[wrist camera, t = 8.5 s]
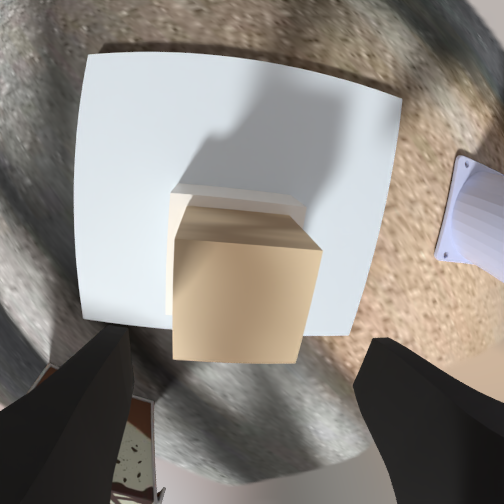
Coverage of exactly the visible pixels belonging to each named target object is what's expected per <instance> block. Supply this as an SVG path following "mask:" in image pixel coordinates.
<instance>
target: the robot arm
mask: <svg viewBox="0 0 504 504" xmlns="http://www.w3.org/2000/svg"><path fill="white" fill-rule="evenodd" d="M465 162H466V165H465ZM444 253H445V255H444ZM434 256H435V258H436V259H437V260H439V261H448V262H458V263H467V264H475V265H477V266H478V267H480V268H481V269H483V270H485V271H486V272H488V273H489V274H491V275H492V276H494V277H495V278H497V279H498V280H500V281H501V282H503V283H504V174H502V173H500V172H498V171H496V170H494V169H491V168H489V167H487V166H485V165H483V164H481V163H479V162H477V161H474V160H472V159H470V158H468V157H465V156H462V155H458V156H457V157H456V161H455V167H454V172H453V178H452V183H451V188H450V193H449V198H448V202H447V207H446V211H445V215H444V219H443V223H442V227H441V231H440V235H439V239H438V242H437V246H436V249H435V253H434ZM133 386H134V376H133V368H132V359H131V350H130V340H129V328H126V327H118V326H111V325H107V326H106V327H105V328H104V329H103V330H102V331H100V332H99V333H98V334H97V335H96V336H95V337H94V338H93V339H91V340H90V341H89V342H88V343H87V344H86V345H85V346H84V347H83V348H82V349H80V350H79V351H78V352H77V353H76V354H75V355H74V356H73V357H71V358H70V359H69V360H68V361H67V362H66V363H65V364H64V365H62V366H61V367H60V368H59V369H58V370H57V371H55V372H54V373H53V374H52V375H50V376H49V377H48V378H47V379H45V380H44V381H43V382H42V383H40V384H39V385H38V386H37V387H35V388H34V389H33V390H31V391H30V392H29V393H27V394H26V395H24V396H23V397H21V398H20V399H18V400H17V401H15V402H14V403H12V404H11V405H9V406H8V407H6V408H4V409H3V410H2V411H0V504H110V499H111V488H112V481H113V475H114V470H115V466H116V462H117V458H118V454H119V450H120V446H121V442H122V438H123V434H124V431H125V427H126V423H127V419H128V416H129V412H130V406H131V399H132V393H133ZM353 388H354V392H355V396H356V399H357V402H358V405H359V408H360V411H361V414H362V416H363V418H364V420H365V422H366V425H367V427H368V429H369V431H370V433H371V435H372V437H373V439H374V442H375V444H376V446H377V448H378V450H379V452H380V454H381V456H382V458H383V460H384V463H385V465H386V468H387V470H388V473H389V476H390V479H391V482H392V485H393V489H394V492H395V496H396V500H397V504H504V403H502V402H500V401H498V400H495V399H493V398H491V397H489V396H487V395H485V394H483V393H480V392H478V391H476V390H475V389H473V388H471V387H469V386H467V385H465V384H464V383H462V382H460V381H459V380H457V379H455V378H453V377H452V376H450V375H448V374H447V373H445V372H444V371H442V370H441V369H439V368H437V367H436V366H434V365H433V364H431V363H430V362H428V361H427V360H425V359H423V358H422V357H420V356H419V355H417V354H416V353H414V352H413V351H411V350H409V349H408V348H406V347H405V346H403V345H401V344H400V343H398V342H396V341H394V340H392V339H390V338H388V337H387V338H373V339H372V341H371V344H370V346H369V349H368V351H367V354H366V356H365V358H364V361H363V363H362V365H361V368H360V370H359V372H358V375H357V377H356V379H355V381H354V383H353Z"/></svg>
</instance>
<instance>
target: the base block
mask: <svg viewBox="0 0 504 504" xmlns="http://www.w3.org/2000/svg"><path fill="white" fill-rule="evenodd" d="M187 206H198V207H210V208H221V209H232V210H243V211H253V212H263V213H273V214H282V215H290V216H291V218H292V219H293V220H294V221H295V222H296V223H297V224H298V225H299V226H300V227H301V228H302V229H303V226H304V220H305V215H306V209H307V207H306V206H305V205H303V204H302V203H301V202H299V201H298V200H297V199H295V198H294V197H293V196H291V195H287V194H279V193H271V192H263V191H254V190H245V189H236V188H227V187H217V186H206V185H195V184H183V183H178V184H177V185H176V186H175V187H174V189H173V190H172V191H171V193H170V203H169V218H168V235H167V258H166V315H172V311H173V262H174V239H175V236H176V233H177V230H178V228H179V225H180V222H181V220H182V217H183V214H184V212H185V209H186V207H187Z"/></svg>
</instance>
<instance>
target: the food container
mask: <svg viewBox="0 0 504 504" xmlns="http://www.w3.org/2000/svg"><path fill="white" fill-rule="evenodd" d="M59 368H60V367H58V366H56V365H53V364H51V363H49V364H48V365H47V366H46V368H45V369H44V370H43V372H42V373H41V374H40V376H39V377H38V378H37V380H36V381H35V383H34V384H33V385H32V387H31V388H30V390H29V391H28V392H27V393H29V392H30V391H31V390H33V389H34V388H35V387H37V386H38V385H39V384H40V383H42V382H43V381H44V380H45V379H47V378H48V377H49V376H50V375H52V374H53V373H54V372H55V371H57V370H58V369H59ZM165 490H166V488H165V487H163V489H162V490H161V491H160V492H158V493H157V488H156V471H155V446H154V401H152V400H149V399H146V398H142V397H139V396H136V395H132V399H131V406H130V412H129V416H128V419H127V423H126V427H125V431H124V434H123V438H122V442H121V446H120V450H119V454H118V458H117V462H116V466H115V470H114V475H113V481H112V488H111V499H110V504H161V503H162V500H163V497H164V493H165Z"/></svg>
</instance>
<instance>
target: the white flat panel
mask: <svg viewBox="0 0 504 504" xmlns="http://www.w3.org/2000/svg"><path fill="white" fill-rule="evenodd" d="M401 107H402V99H401V98H398V97H396V96H393V95H390V94H387V93H385V92H382V91H379V90H376V89H373V88H370V87H367V86H364V85H360V84H357V83H354V82H351V81H347V80H344V79H340V78H337V77H333V76H329V75H325V74H321V73H317V72H313V71H309V70H305V69H300V68H295V67H291V66H286V65H280V64H275V63H270V62H264V61H257V60H251V59H244V58H236V57H228V56H219V55H208V54H195V53H177V52H121V53H104V54H91V55H88V59H87V64H86V70H85V75H84V81H83V87H82V94H81V101H80V108H79V117H78V126H77V137H76V151H75V170H74V228H75V248H76V262H77V273H78V283H79V291H80V299H81V307H82V313H83V319H88V320H95V321H102V322H110V323H117V324H125V325H133V326H142V327H152V328H162V329H172V315H166V258H167V235H168V218H169V203H170V193H171V191H172V190H173V189H174V187H175V186H176V185H177V184H178V183H183V184H195V185H206V186H217V187H227V188H236V189H245V190H254V191H263V192H271V193H279V194H287V195H291V196H293V197H294V198H295V199H297V200H298V201H299V202H301V203H302V204H303V205H305V206H306V207H307V209H306V215H305V220H304V226H303V230H304V231H305V232H306V233H307V234H308V235H309V236H310V237H311V238H312V240H313V241H314V242H315V243H316V244H317V245H318V246H319V247H320V248H321V249H322V250H323V253H322V258H321V262H320V267H319V271H318V276H317V280H316V285H315V289H314V293H313V297H312V302H311V306H310V310H309V314H308V318H307V322H306V326H305V330H304V333H303V336H344V335H349V333H350V330H351V327H352V324H353V321H354V318H355V315H356V312H357V309H358V306H359V303H360V300H361V296H362V293H363V290H364V286H365V283H366V279H367V276H368V272H369V269H370V265H371V262H372V258H373V254H374V250H375V246H376V243H377V239H378V235H379V230H380V226H381V222H382V218H383V213H384V209H385V204H386V199H387V194H388V189H389V184H390V179H391V174H392V168H393V163H394V157H395V151H396V144H397V138H398V131H399V123H400V116H401Z"/></svg>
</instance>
